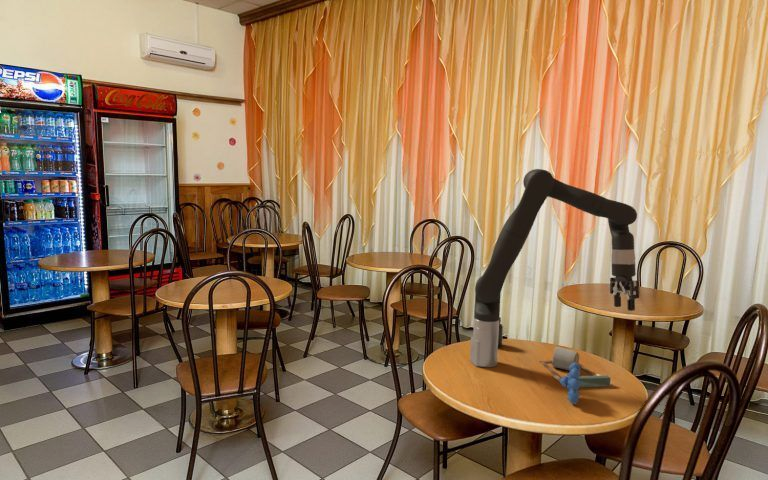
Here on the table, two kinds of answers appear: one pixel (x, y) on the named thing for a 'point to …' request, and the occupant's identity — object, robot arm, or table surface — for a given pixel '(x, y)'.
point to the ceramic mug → (564, 358)
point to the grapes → (572, 382)
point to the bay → (584, 377)
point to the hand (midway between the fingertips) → (624, 308)
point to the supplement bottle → (500, 334)
